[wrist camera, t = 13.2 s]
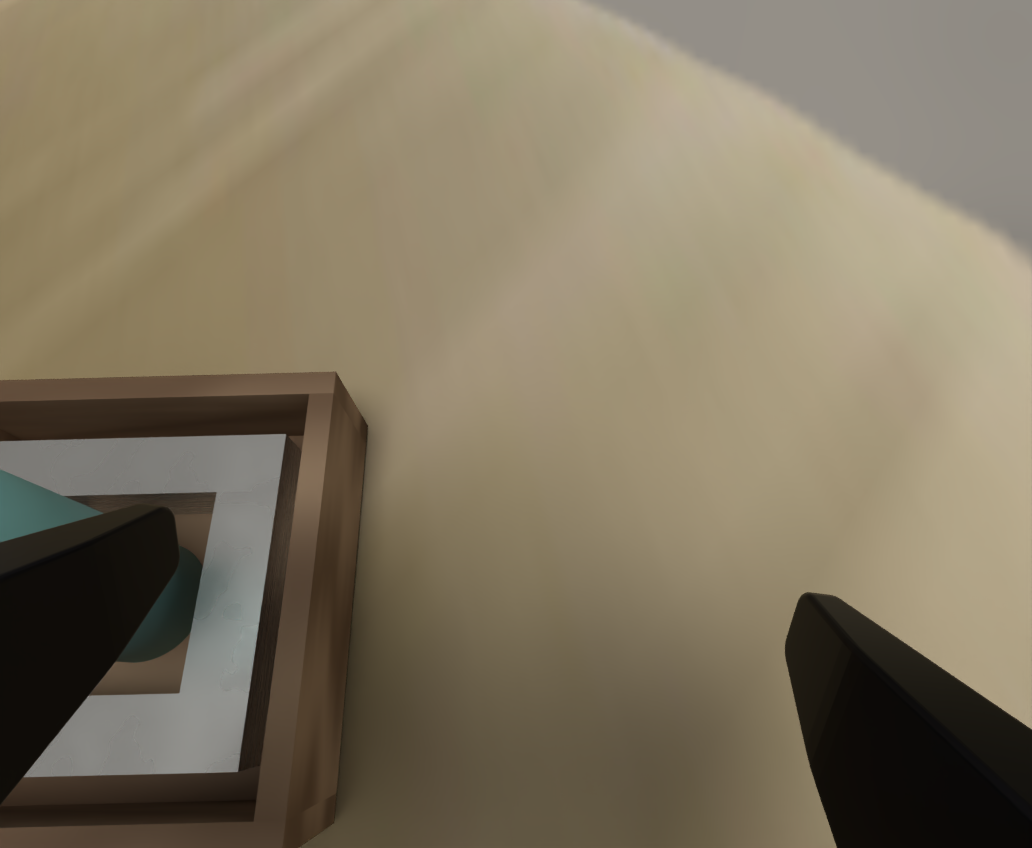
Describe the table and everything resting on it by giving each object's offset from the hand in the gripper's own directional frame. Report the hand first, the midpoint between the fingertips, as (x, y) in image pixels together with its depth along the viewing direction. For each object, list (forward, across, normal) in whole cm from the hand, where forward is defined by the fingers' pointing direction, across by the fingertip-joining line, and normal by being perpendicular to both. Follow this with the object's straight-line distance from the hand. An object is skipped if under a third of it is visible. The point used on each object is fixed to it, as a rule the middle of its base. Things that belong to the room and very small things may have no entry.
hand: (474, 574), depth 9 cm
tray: (+9, +12, +10) cm, 18 cm away
